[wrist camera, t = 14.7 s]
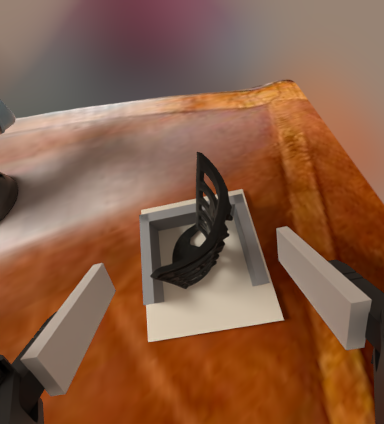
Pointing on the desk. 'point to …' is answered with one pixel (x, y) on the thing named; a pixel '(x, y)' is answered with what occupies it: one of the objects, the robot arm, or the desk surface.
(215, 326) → the bay
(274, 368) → the desk surface
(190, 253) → the holder
